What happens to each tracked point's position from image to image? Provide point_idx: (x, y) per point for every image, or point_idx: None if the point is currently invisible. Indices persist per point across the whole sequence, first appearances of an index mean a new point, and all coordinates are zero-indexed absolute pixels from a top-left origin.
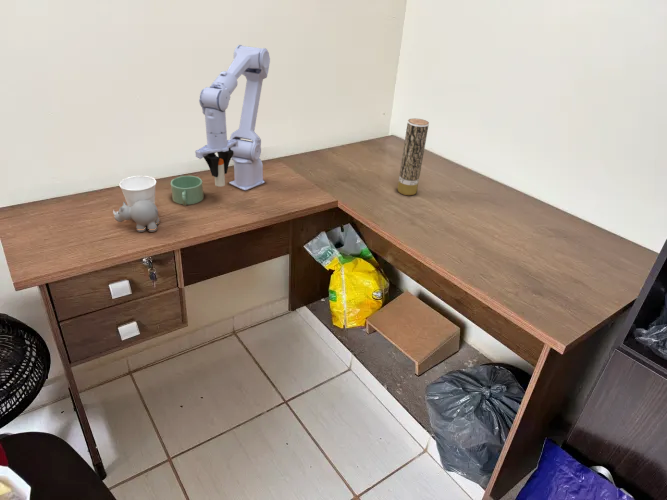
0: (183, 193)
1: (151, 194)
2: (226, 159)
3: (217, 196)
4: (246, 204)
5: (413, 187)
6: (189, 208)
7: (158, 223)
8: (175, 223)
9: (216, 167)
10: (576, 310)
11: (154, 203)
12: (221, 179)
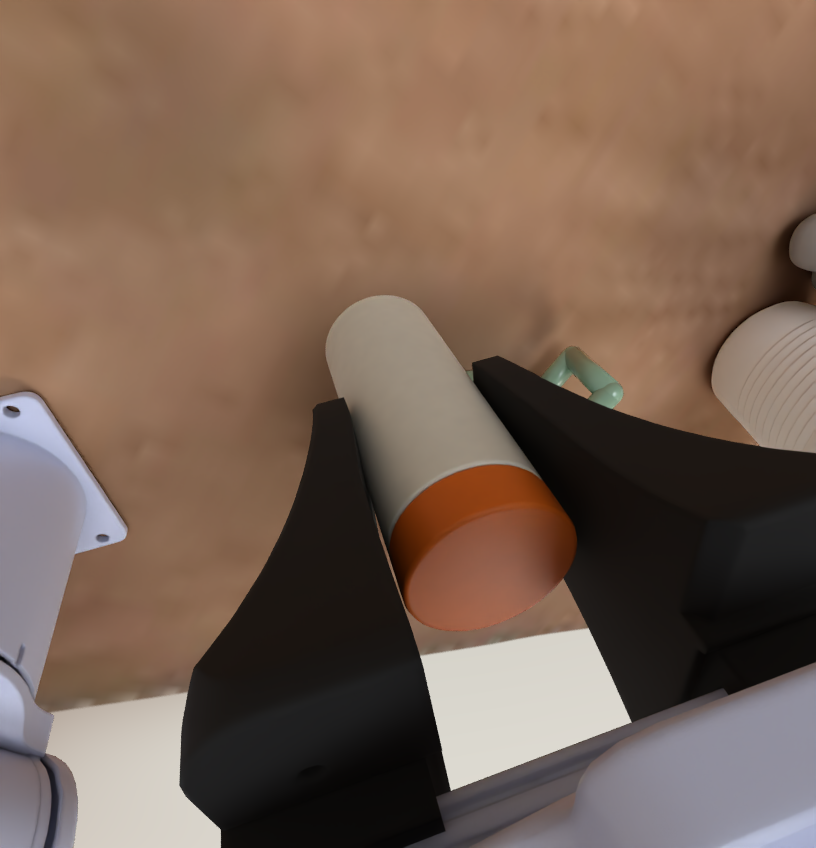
0: (616, 400)
1: None
2: (380, 552)
3: (296, 397)
4: (116, 135)
5: None
6: (542, 324)
7: (812, 215)
8: (732, 177)
9: (591, 416)
10: None
11: (798, 362)
12: (415, 333)
